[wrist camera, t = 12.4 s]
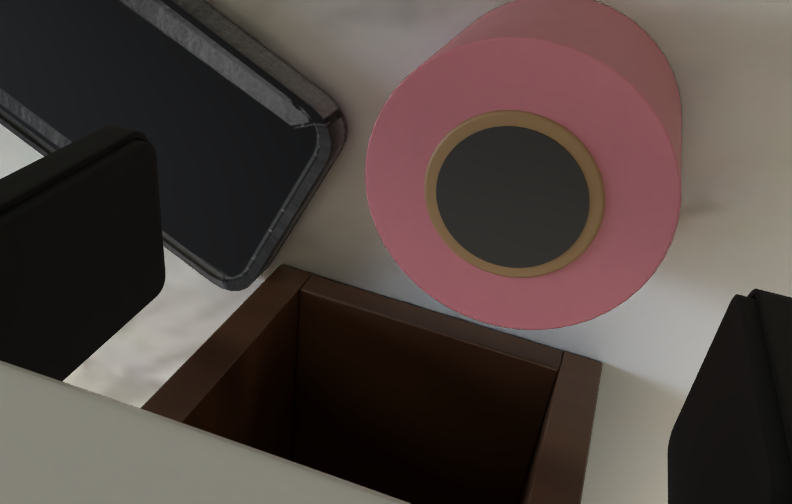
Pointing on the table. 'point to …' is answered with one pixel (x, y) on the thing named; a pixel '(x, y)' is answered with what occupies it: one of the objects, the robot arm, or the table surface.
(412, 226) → the tape roll
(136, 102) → the phone
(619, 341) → the table surface
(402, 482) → the desk shelf
